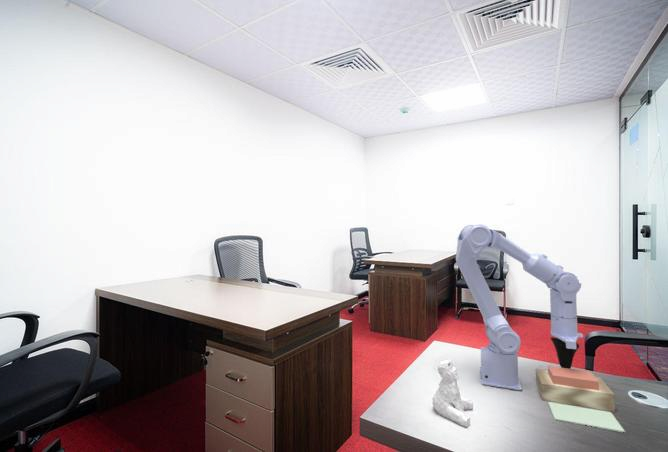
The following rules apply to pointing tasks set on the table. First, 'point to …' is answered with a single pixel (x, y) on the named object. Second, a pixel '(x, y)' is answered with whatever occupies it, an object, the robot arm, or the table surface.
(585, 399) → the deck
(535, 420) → the table surface
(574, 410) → the mat
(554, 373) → the salmon pink block
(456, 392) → the seated beast figurine
